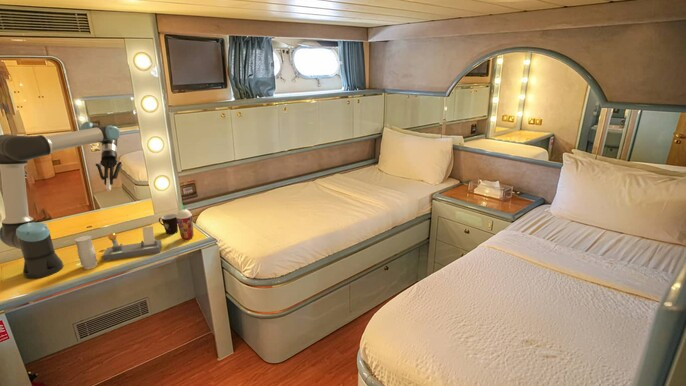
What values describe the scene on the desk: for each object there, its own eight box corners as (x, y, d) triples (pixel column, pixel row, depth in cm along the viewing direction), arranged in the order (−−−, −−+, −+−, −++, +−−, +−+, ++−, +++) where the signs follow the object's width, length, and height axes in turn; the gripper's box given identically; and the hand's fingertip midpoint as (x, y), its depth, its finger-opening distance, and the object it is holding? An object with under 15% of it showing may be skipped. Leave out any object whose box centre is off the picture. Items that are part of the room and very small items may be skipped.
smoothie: (197, 235, 220) (193, 202, 214) (191, 241, 212) (185, 207, 206) (184, 234, 220) (179, 202, 215) (176, 240, 213) (171, 207, 207)
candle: (80, 271, 181) (73, 242, 177) (83, 265, 187) (75, 237, 183) (97, 267, 184) (90, 239, 179) (99, 261, 190) (92, 234, 185)
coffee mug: (182, 231, 225) (179, 216, 222) (168, 236, 219) (165, 220, 216) (173, 227, 233) (170, 211, 230) (159, 231, 226) (156, 215, 223)
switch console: (103, 261, 191) (101, 251, 189) (108, 252, 200) (106, 243, 198) (159, 252, 199) (158, 243, 197) (161, 245, 208) (160, 235, 206)
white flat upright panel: (144, 244, 199) (142, 227, 200) (144, 244, 200) (142, 227, 201) (154, 243, 201) (152, 226, 202) (154, 243, 202) (153, 226, 203)
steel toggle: (113, 251, 194) (106, 237, 186) (114, 246, 196) (107, 232, 189) (121, 250, 195) (115, 236, 188) (121, 245, 198) (115, 231, 190)
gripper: (124, 156, 219) (124, 191, 208) (98, 158, 215) (97, 194, 204) (120, 148, 212) (120, 184, 202) (93, 150, 208) (92, 187, 198)
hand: (108, 189), depth 203 cm, fingers closed
